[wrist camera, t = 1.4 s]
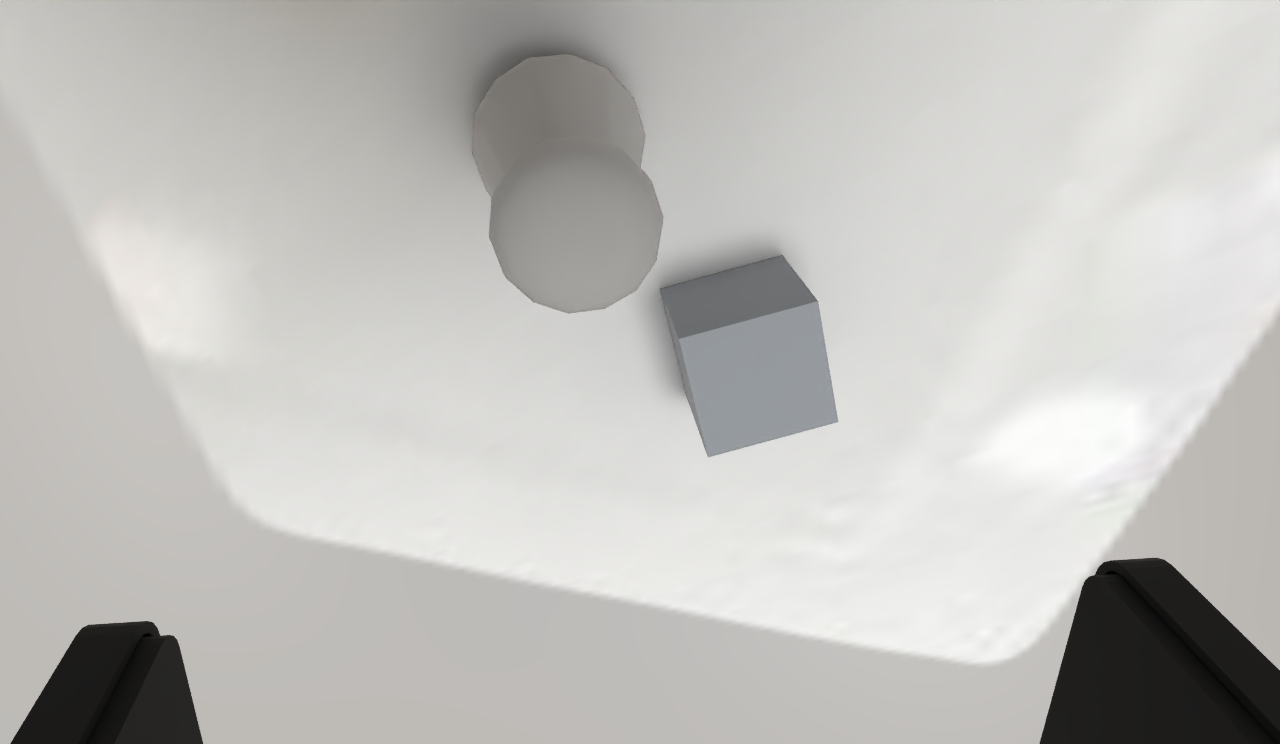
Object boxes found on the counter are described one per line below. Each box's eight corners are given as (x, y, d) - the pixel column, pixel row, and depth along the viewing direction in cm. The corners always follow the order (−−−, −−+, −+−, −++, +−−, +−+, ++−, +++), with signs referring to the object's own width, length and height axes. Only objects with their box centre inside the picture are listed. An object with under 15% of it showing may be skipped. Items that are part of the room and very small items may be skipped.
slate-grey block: (659, 287, 37) (678, 338, 33) (781, 254, 37) (818, 301, 33) (686, 395, 40) (708, 457, 35) (801, 364, 40) (838, 421, 35)
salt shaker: (487, 214, 35) (473, 365, 24) (462, 54, 33) (432, 133, 21) (643, 197, 36) (705, 337, 24) (630, 37, 33) (693, 106, 21)
